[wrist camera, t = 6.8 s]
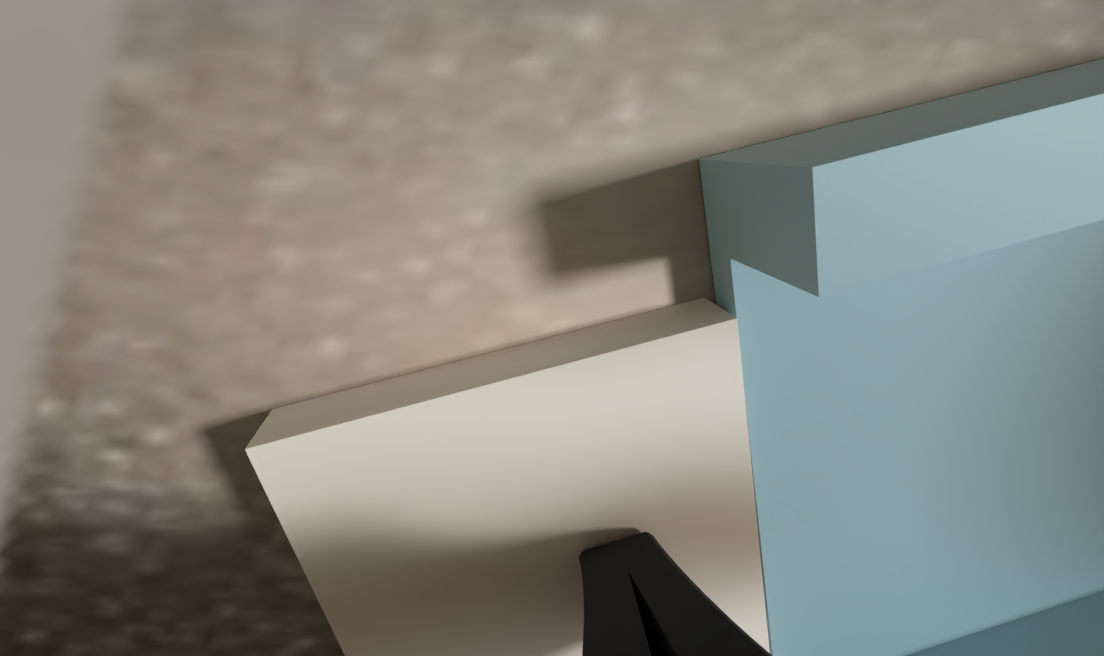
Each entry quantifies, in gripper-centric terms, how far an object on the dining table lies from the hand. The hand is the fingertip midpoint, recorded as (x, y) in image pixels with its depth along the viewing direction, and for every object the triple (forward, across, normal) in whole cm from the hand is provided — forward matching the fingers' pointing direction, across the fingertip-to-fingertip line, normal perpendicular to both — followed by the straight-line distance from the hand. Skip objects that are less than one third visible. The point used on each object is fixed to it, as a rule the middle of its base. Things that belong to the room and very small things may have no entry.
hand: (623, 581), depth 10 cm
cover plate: (+2, +1, 0) cm, 2 cm away
